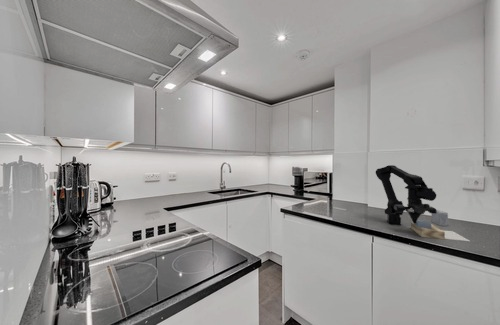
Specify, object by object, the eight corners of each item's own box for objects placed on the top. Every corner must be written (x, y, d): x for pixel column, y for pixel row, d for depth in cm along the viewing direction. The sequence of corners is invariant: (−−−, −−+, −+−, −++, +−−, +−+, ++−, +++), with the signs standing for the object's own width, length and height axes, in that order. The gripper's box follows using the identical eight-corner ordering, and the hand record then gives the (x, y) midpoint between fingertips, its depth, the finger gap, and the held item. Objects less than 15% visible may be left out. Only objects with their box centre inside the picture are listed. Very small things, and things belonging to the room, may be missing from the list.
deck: (421, 236, 107) (421, 229, 107) (410, 228, 120) (410, 221, 120) (444, 239, 103) (444, 231, 103) (430, 229, 116) (430, 223, 116)
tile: (418, 227, 111) (418, 223, 110) (413, 223, 116) (413, 219, 116) (431, 228, 108) (431, 224, 108) (425, 225, 114) (425, 220, 114)
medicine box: (448, 226, 122) (448, 212, 122) (440, 225, 123) (440, 212, 123) (438, 222, 130) (438, 209, 130) (431, 221, 131) (431, 209, 131)
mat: (445, 239, 103) (445, 238, 103) (431, 230, 116) (431, 229, 116) (470, 241, 100) (470, 241, 100) (453, 232, 113) (453, 231, 113)
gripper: (400, 198, 109) (400, 225, 109) (442, 201, 102) (442, 229, 103) (393, 195, 119) (393, 219, 120) (431, 197, 113) (431, 222, 113)
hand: (414, 222), depth 114 cm, fingers closed
